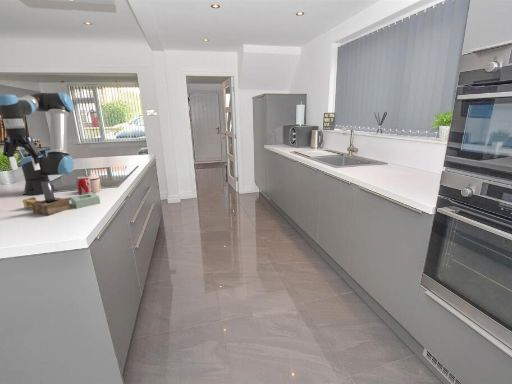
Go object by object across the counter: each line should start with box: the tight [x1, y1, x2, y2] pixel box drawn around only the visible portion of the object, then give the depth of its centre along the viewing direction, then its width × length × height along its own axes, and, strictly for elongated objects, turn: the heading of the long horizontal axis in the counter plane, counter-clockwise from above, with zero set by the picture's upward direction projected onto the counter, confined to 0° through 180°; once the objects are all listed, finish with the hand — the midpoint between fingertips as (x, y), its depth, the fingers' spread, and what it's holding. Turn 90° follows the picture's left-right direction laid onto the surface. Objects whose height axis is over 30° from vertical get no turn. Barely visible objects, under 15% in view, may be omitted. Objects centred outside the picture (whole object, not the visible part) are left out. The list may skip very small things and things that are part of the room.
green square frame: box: [70, 193, 101, 209], centre depth 147 cm, size 11×11×4 cm
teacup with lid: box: [87, 172, 102, 194], centre depth 172 cm, size 12×9×12 cm
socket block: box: [31, 196, 72, 216], centre depth 137 cm, size 11×11×5 cm
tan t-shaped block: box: [22, 196, 40, 209], centre depth 141 cm, size 9×5×4 cm, turn 71°
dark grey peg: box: [41, 180, 56, 204], centre depth 135 cm, size 4×4×15 cm
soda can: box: [75, 175, 93, 195], centre depth 159 cm, size 7×7×12 cm
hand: (26, 169), depth 140 cm, fingers open, 13 cm apart
